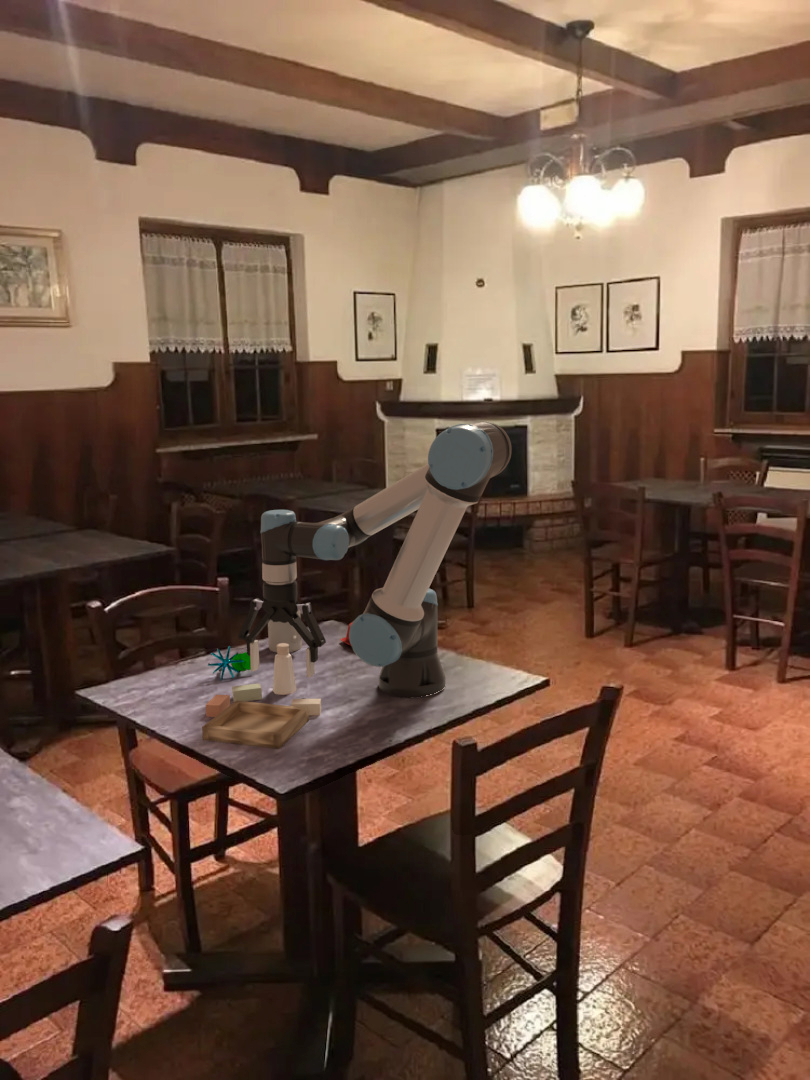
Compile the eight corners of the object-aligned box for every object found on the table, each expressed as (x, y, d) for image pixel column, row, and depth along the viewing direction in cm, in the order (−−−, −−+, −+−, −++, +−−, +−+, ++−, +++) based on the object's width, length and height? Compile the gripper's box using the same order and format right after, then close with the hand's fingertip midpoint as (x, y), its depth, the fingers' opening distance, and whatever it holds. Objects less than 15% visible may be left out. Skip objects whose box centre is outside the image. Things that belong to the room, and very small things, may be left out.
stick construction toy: (211, 678, 208) (207, 646, 211) (205, 687, 213) (201, 656, 216) (262, 674, 213) (257, 643, 216) (254, 683, 219) (249, 652, 222)
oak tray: (309, 721, 186) (308, 708, 186) (279, 750, 173) (278, 735, 172) (237, 713, 191) (236, 700, 190) (203, 741, 177) (202, 726, 177)
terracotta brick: (217, 707, 195) (216, 694, 195) (230, 708, 195) (229, 695, 194) (206, 718, 189) (205, 704, 189) (220, 719, 189) (219, 705, 188)
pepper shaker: (274, 687, 206) (272, 640, 204) (298, 687, 206) (296, 640, 204) (270, 695, 201) (268, 648, 199) (294, 695, 201) (292, 648, 199)
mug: (262, 647, 235) (260, 606, 233) (290, 640, 240) (289, 600, 238) (286, 658, 226) (284, 616, 224) (315, 651, 231) (313, 610, 229)
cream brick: (321, 712, 192) (320, 698, 191) (320, 717, 189) (319, 703, 188) (293, 712, 192) (292, 699, 191) (291, 717, 189) (290, 704, 188)
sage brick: (260, 696, 202) (259, 683, 201) (262, 700, 199) (261, 687, 198) (233, 699, 200) (232, 686, 199) (234, 704, 197) (233, 691, 196)
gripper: (339, 580, 198) (340, 672, 203) (236, 572, 206) (240, 661, 210) (326, 588, 191) (328, 683, 196) (220, 580, 199) (224, 672, 203)
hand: (282, 672), depth 203 cm, fingers open, 13 cm apart
